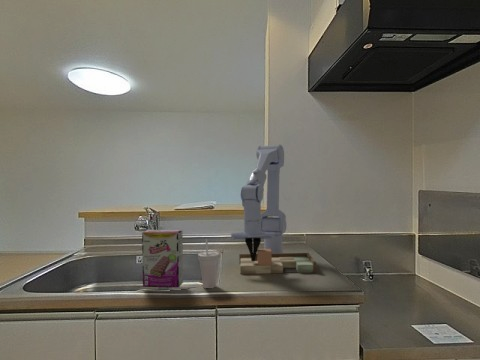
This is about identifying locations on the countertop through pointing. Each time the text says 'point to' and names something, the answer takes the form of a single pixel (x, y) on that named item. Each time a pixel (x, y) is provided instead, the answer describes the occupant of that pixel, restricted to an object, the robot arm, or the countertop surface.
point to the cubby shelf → (279, 264)
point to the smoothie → (208, 267)
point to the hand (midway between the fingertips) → (253, 260)
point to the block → (264, 256)
